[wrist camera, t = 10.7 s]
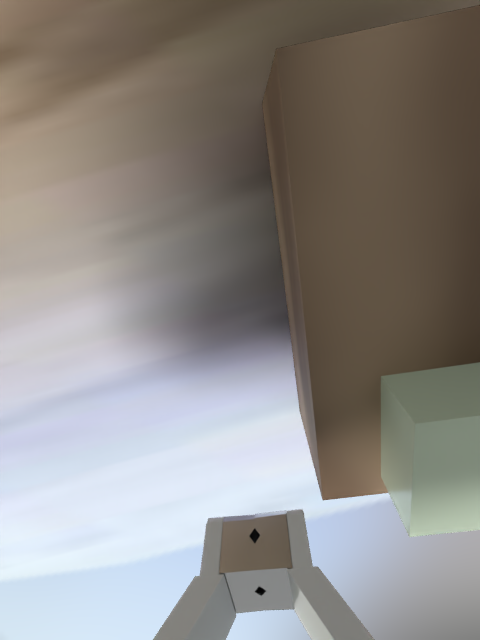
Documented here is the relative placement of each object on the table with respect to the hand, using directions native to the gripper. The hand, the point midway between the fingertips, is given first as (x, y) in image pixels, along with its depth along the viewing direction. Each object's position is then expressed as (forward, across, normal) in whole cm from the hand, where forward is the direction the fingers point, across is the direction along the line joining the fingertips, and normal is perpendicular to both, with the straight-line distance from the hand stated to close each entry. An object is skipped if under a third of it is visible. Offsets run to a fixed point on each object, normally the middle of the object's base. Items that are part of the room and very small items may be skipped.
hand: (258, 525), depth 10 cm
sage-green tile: (+3, -7, 0) cm, 8 cm away
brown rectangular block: (+9, -8, -5) cm, 13 cm away
